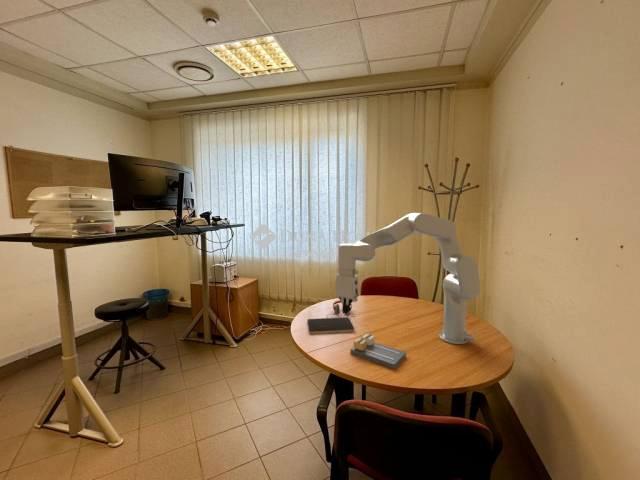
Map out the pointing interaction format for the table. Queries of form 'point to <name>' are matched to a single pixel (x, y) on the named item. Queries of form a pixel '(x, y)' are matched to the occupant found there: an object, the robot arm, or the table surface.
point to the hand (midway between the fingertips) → (346, 312)
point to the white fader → (369, 339)
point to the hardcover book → (330, 325)
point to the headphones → (338, 309)
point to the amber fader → (360, 344)
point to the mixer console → (381, 355)
